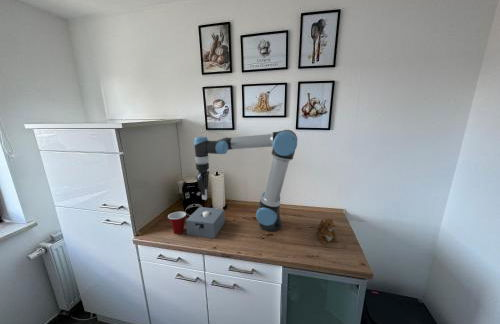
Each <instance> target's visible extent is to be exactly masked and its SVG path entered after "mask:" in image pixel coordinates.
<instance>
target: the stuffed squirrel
mask: <svg viewBox="0 0 500 324" xmlns="http://www.w3.org/2000/svg"><path fill="white" fill-rule="evenodd" d="M335 228H337V226H336V225H335V223H334V218H328V219H327V218H322V220H320V222H319V225H318V226H317V228H316V232H317V235H318V240H319V241H320V242H321V244H322V245H324V246H325V245H326V244H327V243H328V242H336V243H337V242H338V239H337V238H336V237H337V236H338V233H337V232H336V231H335V230H334V229H335Z"/></svg>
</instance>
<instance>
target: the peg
mask: <svg viewBox="0 0 500 324" xmlns="http://www.w3.org/2000/svg"><path fill="white" fill-rule="evenodd" d="M209 216H210V212H209V211H205V212H203V217H209Z"/></svg>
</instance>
